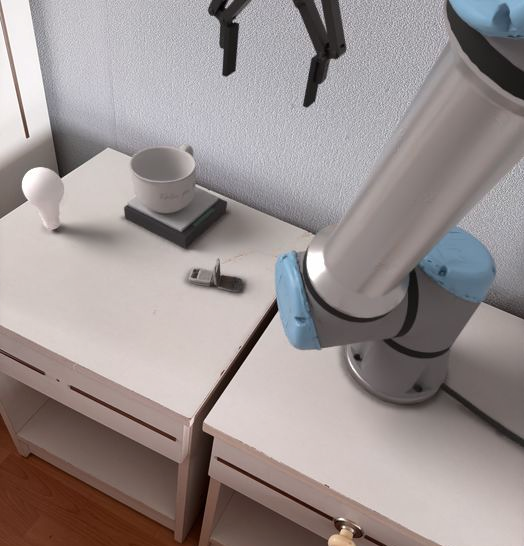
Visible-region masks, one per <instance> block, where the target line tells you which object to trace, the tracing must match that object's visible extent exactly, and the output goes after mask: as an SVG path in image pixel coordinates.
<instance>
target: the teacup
mask: <svg viewBox="0 0 524 546" xmlns="http://www.w3.org/2000/svg"><path fill="white" fill-rule="evenodd" d="M128 164H129V165H128V166H129V167H128V168H129V170H130V173H131V180H132V186H133V191H134V195H135V197H137V199H138V200H139V202H140V203H141V204H142V205H143V206H145V207H146V208H148V209H150V210H152V211H155V212H158V213H164V214H168V213H174V212H177V211H179V210H181V209H182V208H184V207H186V206H187V205H188V204H189V203H190V202H191V201H192V199H193V197H194V195H195V187H197V186H196V184H197V183H196V182H197V179H196V177H197V176H196V169H197V162H196V159H195V158H194V149H193V147H192V146H191V145H189V144H186V143H184V144H182V145H180V147H179V148H178V147H175V146H169V145H157V146H150V147H147V148H143V149H141V150H139V151H137V152H136V153H135V154H133V155H132V156H131V158H130V159H129V163H128Z"/></svg>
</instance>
